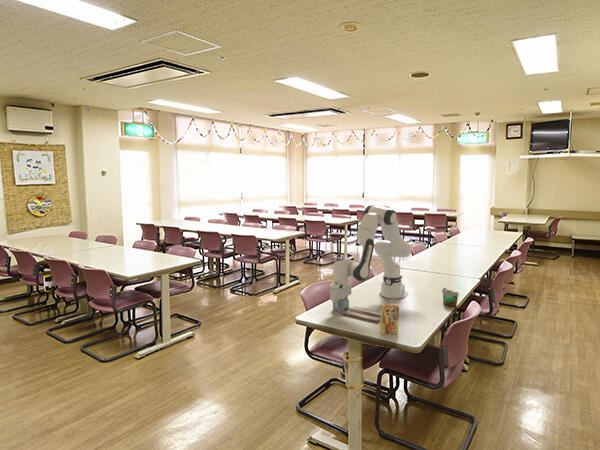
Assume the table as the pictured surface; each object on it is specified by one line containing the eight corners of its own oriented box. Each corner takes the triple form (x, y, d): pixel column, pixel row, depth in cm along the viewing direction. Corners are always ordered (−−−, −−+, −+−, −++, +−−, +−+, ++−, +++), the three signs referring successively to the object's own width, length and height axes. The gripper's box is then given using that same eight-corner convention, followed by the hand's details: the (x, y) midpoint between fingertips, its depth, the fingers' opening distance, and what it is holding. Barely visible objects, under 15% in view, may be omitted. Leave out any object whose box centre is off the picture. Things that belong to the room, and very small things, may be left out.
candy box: (396, 331, 210) (396, 303, 208) (398, 334, 206) (399, 306, 204) (379, 331, 209) (380, 303, 208) (381, 334, 205) (382, 306, 203)
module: (337, 307, 249) (337, 296, 249) (348, 310, 244) (349, 299, 244) (332, 310, 245) (332, 299, 244) (343, 312, 240) (343, 301, 239)
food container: (437, 303, 258) (437, 288, 257) (444, 302, 261) (445, 287, 259) (450, 308, 247) (451, 293, 246) (458, 307, 249) (458, 292, 248)
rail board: (354, 308, 247) (354, 304, 246) (387, 316, 233) (388, 311, 232) (342, 314, 236) (342, 310, 235) (377, 323, 222) (377, 318, 221)
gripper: (345, 279, 252) (345, 299, 254) (328, 285, 236) (327, 307, 238) (354, 280, 249) (353, 301, 250) (336, 287, 232) (336, 309, 234)
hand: (341, 304), depth 244 cm, fingers open, 8 cm apart
